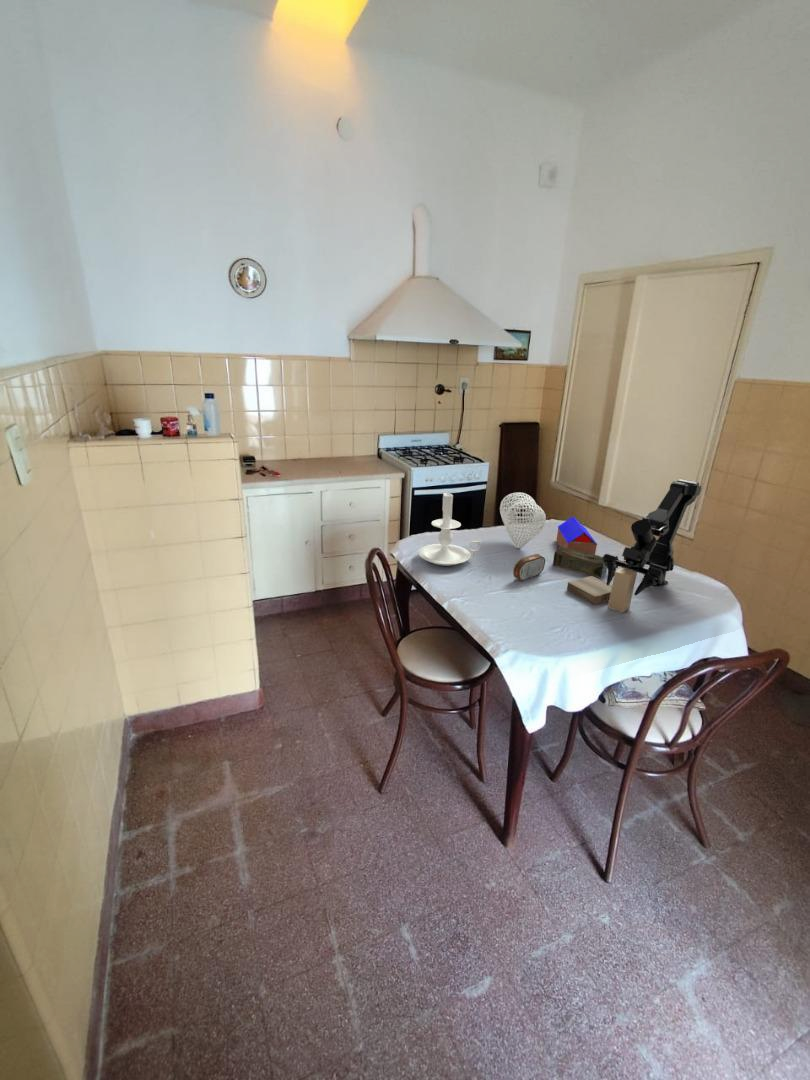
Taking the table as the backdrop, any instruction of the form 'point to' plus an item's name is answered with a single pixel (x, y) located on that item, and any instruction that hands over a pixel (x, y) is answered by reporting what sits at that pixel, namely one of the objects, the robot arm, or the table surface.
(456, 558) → the candlestick
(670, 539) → the robot arm
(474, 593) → the table surface
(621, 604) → the kraft carton
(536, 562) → the tin
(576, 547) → the house
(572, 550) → the beverage carton
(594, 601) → the walnut podium
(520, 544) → the heart
